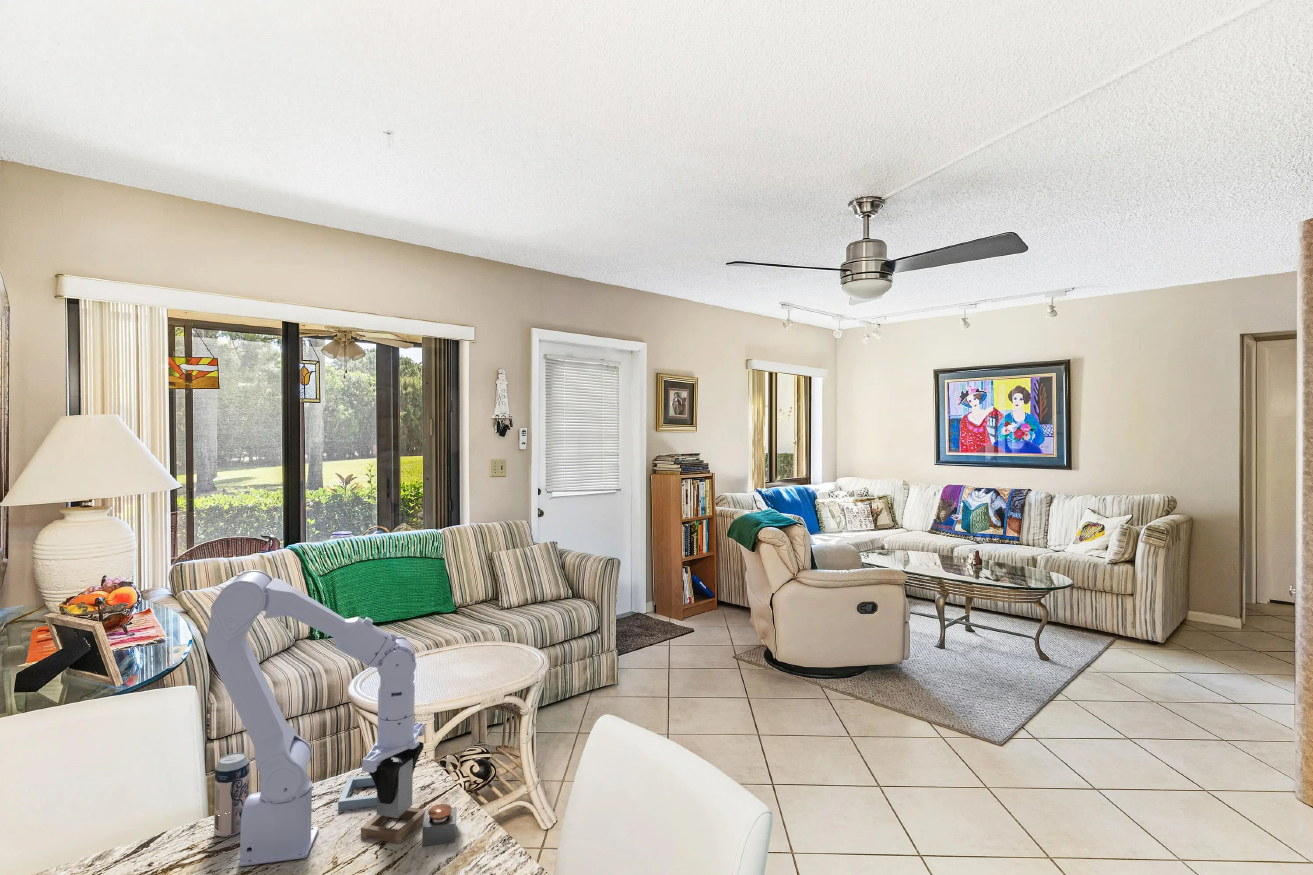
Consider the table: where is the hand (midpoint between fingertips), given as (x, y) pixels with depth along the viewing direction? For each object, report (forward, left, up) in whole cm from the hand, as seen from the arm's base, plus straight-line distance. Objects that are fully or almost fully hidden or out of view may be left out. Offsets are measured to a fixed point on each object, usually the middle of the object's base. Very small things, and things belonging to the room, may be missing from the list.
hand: (394, 795), depth 112 cm
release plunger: (+8, -4, -5) cm, 10 cm away
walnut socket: (0, 0, -5) cm, 5 cm away
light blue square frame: (-6, +12, -5) cm, 14 cm away
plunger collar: (+8, -4, -5) cm, 10 cm away
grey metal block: (0, 0, -2) cm, 2 cm away
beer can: (-26, +5, -6) cm, 27 cm away
